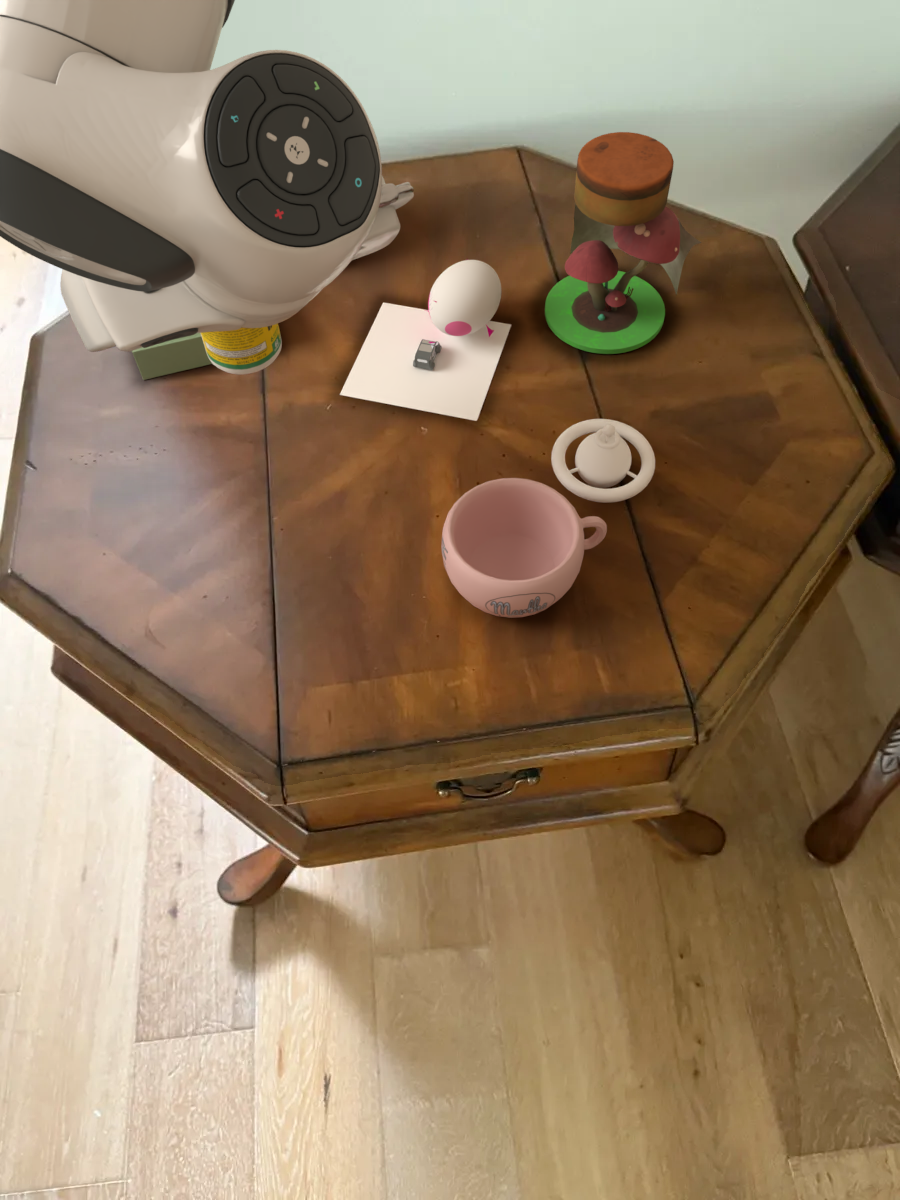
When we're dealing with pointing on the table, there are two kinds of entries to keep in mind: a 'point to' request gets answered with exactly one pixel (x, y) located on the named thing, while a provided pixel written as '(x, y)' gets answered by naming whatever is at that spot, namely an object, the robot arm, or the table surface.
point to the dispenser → (171, 356)
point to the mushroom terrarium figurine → (618, 246)
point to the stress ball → (464, 298)
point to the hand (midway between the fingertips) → (225, 284)
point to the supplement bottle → (243, 348)
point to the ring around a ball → (603, 460)
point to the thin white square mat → (425, 364)
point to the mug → (515, 546)
